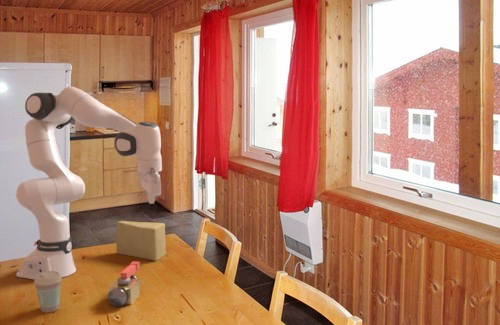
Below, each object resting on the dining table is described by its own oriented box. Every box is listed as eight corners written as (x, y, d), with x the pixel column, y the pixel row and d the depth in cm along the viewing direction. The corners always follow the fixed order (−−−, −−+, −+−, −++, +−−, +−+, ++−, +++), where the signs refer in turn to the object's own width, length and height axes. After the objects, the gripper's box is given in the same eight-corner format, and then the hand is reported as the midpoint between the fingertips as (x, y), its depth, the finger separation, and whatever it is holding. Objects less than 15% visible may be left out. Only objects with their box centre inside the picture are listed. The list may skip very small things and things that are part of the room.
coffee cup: (41, 303, 172) (38, 270, 171) (66, 302, 173) (64, 269, 171) (32, 315, 164) (29, 280, 162) (59, 314, 165) (56, 279, 163)
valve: (106, 306, 170) (105, 288, 169) (121, 290, 183) (120, 274, 182) (128, 308, 169) (127, 289, 168) (142, 292, 182) (141, 275, 181)
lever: (127, 285, 172) (126, 275, 172) (115, 284, 173) (114, 274, 173) (142, 271, 185) (141, 261, 185) (131, 270, 186) (130, 261, 185)
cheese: (111, 256, 220) (109, 223, 217) (123, 249, 229) (121, 218, 226) (156, 262, 213) (154, 228, 210) (166, 254, 222) (165, 221, 220)
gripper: (164, 170, 176) (166, 208, 178) (152, 161, 194) (153, 196, 196) (146, 171, 173) (148, 210, 175) (136, 162, 192) (137, 198, 194)
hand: (151, 202), depth 186 cm, fingers closed
